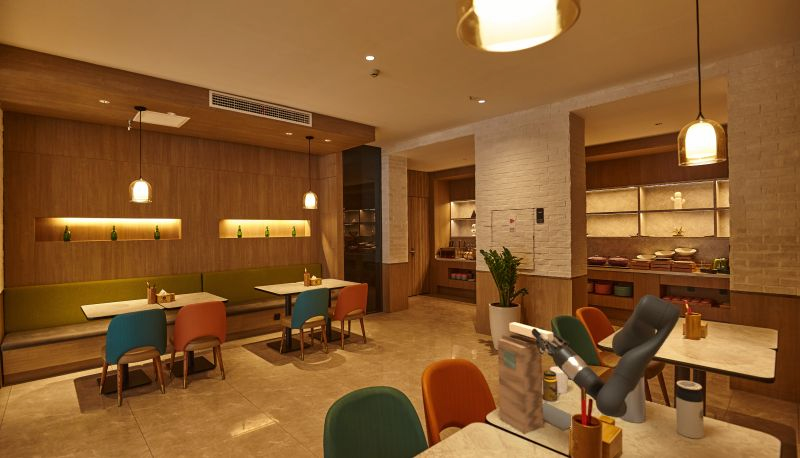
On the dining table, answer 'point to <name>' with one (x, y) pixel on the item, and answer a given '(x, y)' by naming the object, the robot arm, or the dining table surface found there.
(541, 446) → the dining table surface
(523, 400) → the walnut tower
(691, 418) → the travel mug
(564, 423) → the slate board
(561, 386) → the white cup
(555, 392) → the condiment
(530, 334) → the ivory plug peg
